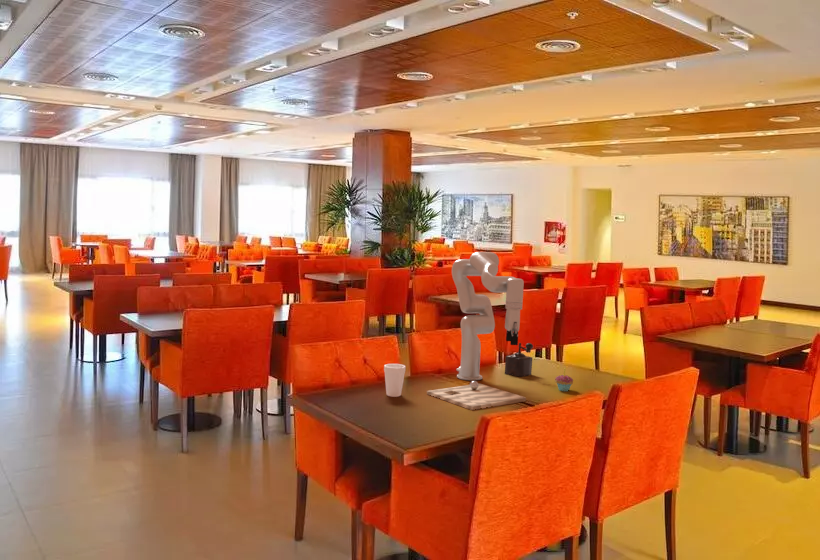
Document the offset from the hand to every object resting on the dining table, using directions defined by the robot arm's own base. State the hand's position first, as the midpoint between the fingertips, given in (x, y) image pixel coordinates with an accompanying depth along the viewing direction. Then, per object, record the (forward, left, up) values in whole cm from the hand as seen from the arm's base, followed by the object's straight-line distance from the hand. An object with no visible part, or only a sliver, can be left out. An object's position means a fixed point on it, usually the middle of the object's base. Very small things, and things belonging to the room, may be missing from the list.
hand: (511, 343), depth 320 cm
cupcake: (+6, +30, -24) cm, 39 cm away
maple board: (-3, -18, -24) cm, 30 cm away
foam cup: (-24, -48, -24) cm, 58 cm away
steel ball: (-10, -13, -20) cm, 26 cm away
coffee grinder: (-27, +36, -24) cm, 51 cm away
